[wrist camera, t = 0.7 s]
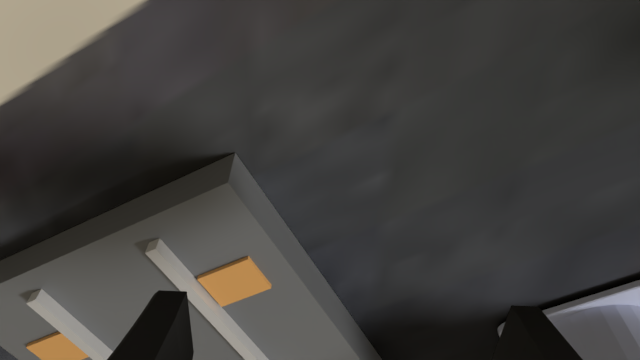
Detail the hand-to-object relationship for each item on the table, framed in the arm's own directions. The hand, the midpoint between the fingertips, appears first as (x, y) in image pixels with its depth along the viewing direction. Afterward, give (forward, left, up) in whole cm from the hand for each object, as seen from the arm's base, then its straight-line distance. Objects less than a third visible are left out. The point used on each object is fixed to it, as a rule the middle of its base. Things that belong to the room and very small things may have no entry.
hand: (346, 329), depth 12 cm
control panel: (-8, +11, -10) cm, 17 cm away
